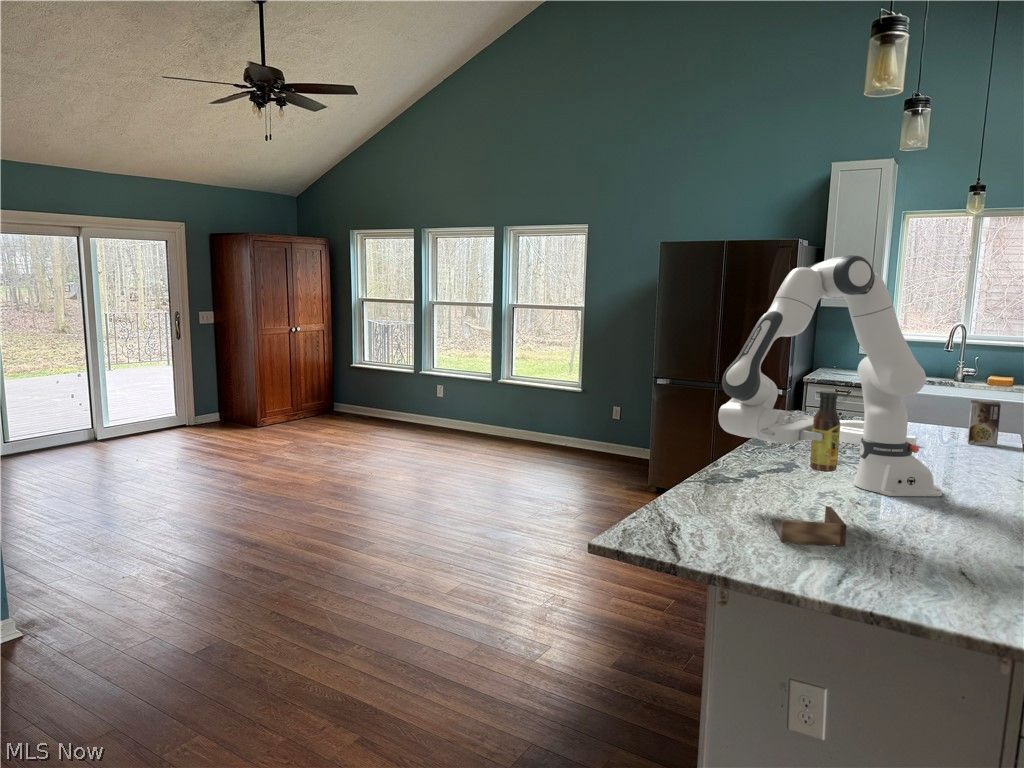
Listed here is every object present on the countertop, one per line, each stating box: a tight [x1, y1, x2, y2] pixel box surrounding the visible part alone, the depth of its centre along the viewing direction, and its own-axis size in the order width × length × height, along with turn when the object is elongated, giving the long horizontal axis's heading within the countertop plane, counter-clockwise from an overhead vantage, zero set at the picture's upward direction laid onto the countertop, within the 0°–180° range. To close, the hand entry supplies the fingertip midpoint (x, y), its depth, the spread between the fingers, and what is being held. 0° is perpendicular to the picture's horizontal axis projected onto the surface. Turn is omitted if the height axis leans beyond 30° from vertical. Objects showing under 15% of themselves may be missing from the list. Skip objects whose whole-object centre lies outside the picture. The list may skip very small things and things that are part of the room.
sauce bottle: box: [809, 390, 840, 473], centre depth 168 cm, size 7×6×20 cm
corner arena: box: [770, 505, 847, 547], centre depth 159 cm, size 14×14×5 cm
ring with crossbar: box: [839, 419, 918, 446], centre depth 261 cm, size 28×28×5 cm
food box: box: [966, 399, 1002, 448], centre depth 251 cm, size 9×6×16 cm
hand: (829, 434), depth 167 cm, fingers closed on sauce bottle, 6 cm apart
